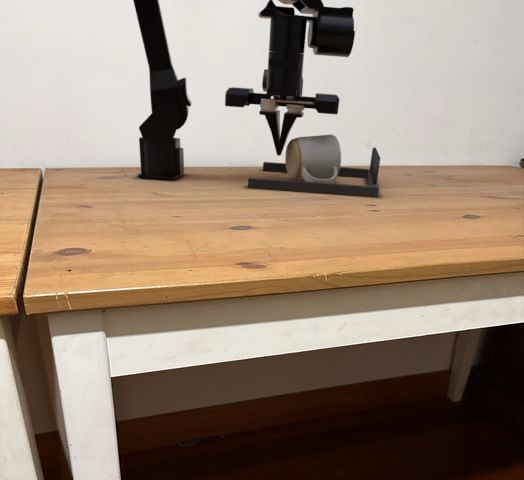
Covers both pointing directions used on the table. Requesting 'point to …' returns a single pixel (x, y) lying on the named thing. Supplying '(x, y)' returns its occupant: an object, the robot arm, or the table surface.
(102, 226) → the table surface
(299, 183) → the dish rack
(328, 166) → the ceramic mug
